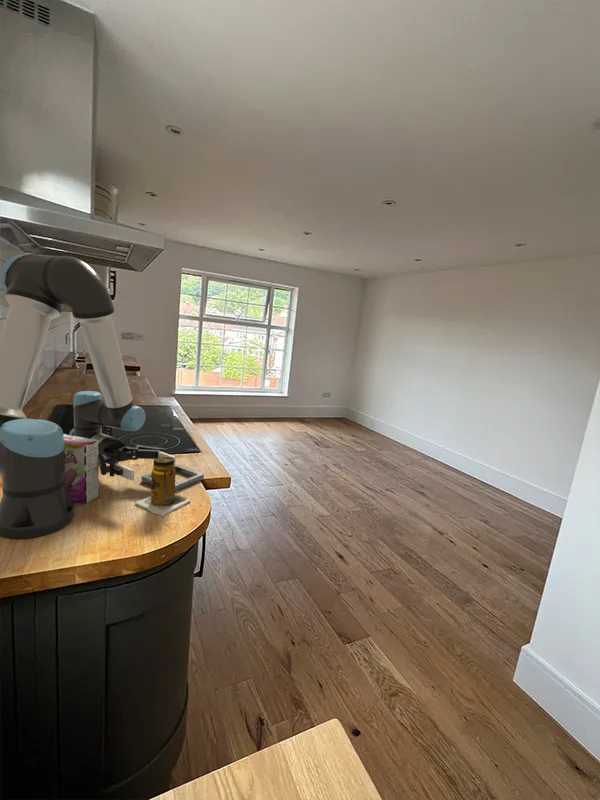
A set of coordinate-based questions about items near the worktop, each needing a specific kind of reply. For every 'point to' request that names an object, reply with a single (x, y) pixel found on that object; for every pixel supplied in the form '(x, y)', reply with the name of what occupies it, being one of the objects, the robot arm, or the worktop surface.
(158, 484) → the condiment
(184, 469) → the socket
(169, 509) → the tile
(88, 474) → the candy bar box
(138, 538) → the worktop surface
